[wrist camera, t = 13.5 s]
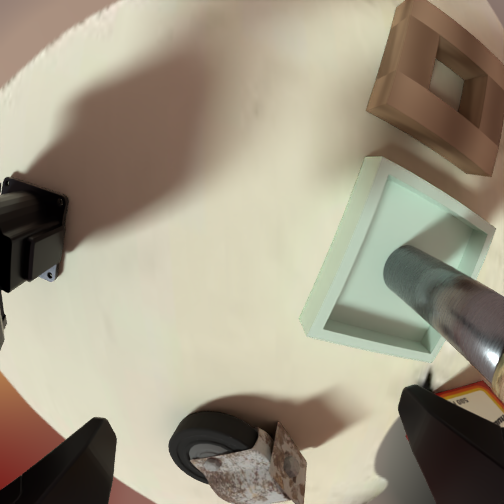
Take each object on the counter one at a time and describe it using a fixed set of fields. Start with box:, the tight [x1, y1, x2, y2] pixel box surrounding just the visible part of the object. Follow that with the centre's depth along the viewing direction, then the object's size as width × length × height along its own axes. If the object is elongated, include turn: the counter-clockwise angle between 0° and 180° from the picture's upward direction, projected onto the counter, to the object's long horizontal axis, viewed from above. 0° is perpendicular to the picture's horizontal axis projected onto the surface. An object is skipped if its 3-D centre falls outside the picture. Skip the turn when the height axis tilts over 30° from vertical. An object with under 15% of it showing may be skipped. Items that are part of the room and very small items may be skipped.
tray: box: [299, 156, 496, 363], centre depth 20 cm, size 12×12×2 cm
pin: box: [383, 245, 504, 403], centre depth 14 cm, size 4×4×13 cm
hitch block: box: [366, 0, 504, 177], centre depth 16 cm, size 10×10×3 cm
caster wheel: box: [169, 412, 307, 504], centre depth 22 cm, size 7×11×10 cm
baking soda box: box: [406, 381, 504, 439], centre depth 19 cm, size 10×6×16 cm
